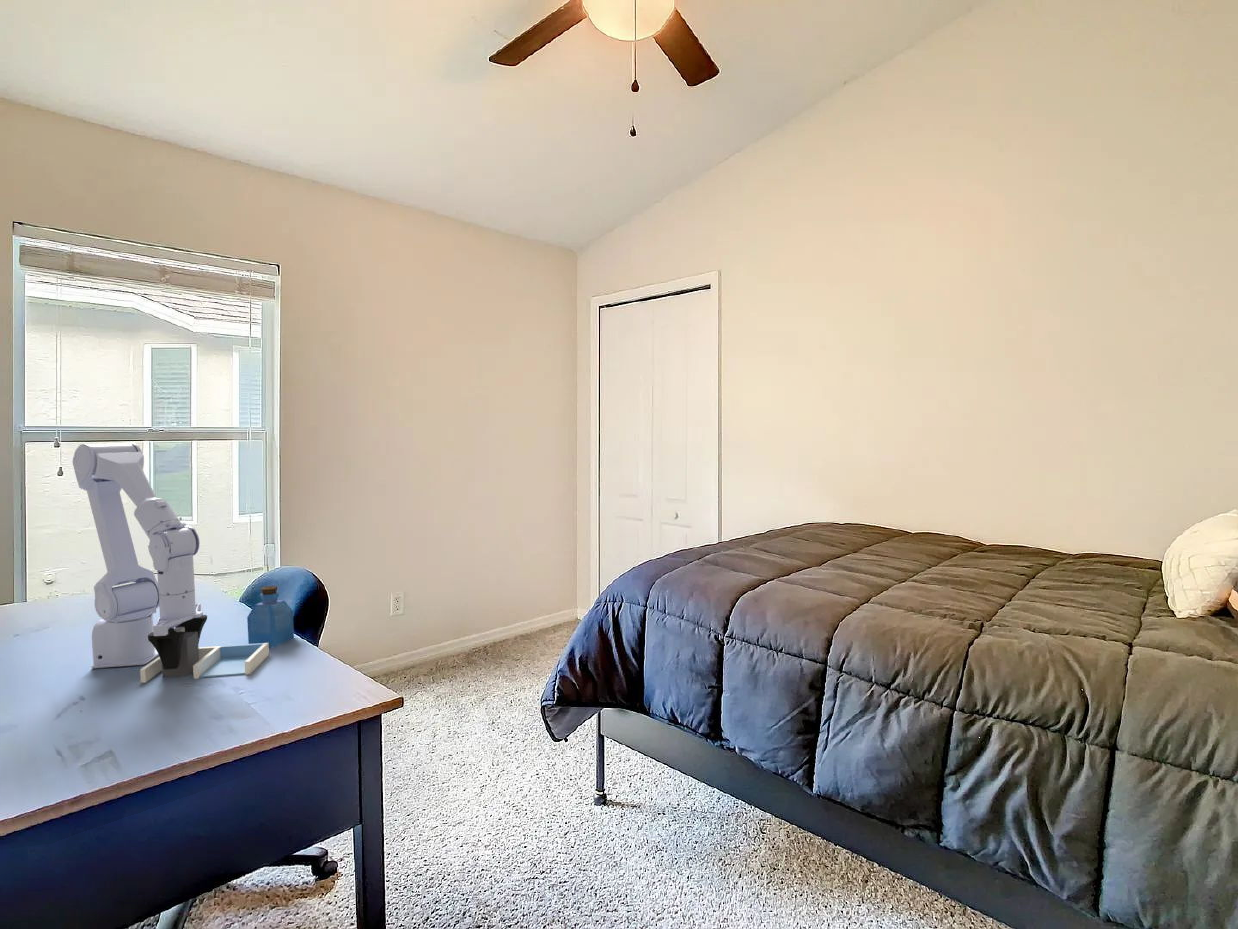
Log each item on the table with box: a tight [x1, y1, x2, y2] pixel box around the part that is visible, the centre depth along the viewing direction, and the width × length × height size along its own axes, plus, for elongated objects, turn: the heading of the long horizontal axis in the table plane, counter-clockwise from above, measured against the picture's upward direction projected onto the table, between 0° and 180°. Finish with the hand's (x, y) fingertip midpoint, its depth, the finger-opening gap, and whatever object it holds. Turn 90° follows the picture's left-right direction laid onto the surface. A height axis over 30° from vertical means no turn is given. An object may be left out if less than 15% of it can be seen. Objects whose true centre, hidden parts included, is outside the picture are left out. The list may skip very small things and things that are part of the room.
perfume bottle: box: [246, 585, 295, 648], centre depth 141 cm, size 6×6×12 cm
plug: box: [161, 627, 199, 678], centre depth 124 cm, size 4×4×8 cm
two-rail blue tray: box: [139, 643, 270, 684], centre depth 126 cm, size 18×11×2 cm, turn 101°
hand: (180, 661), depth 124 cm, fingers open, 7 cm apart
